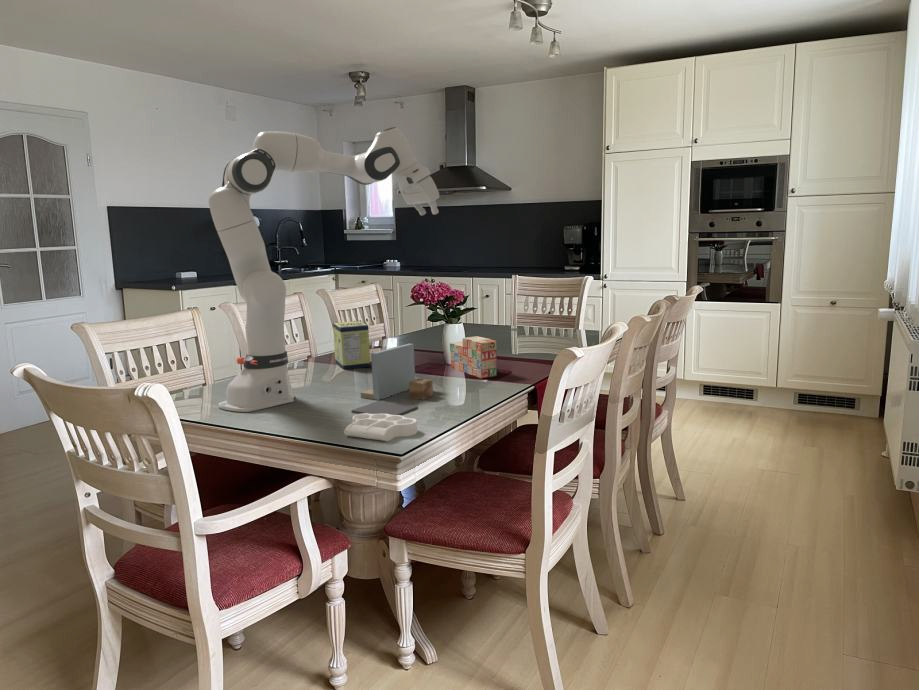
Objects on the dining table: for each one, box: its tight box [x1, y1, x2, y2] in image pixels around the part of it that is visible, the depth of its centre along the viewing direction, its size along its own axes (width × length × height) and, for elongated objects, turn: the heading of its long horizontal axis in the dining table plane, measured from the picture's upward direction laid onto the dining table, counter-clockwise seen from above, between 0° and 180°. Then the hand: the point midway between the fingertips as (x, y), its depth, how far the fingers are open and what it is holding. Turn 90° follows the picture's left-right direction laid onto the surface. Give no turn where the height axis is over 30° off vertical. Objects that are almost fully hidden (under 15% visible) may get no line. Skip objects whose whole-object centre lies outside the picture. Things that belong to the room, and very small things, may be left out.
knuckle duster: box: [343, 413, 418, 442], centre depth 168 cm, size 3×18×15 cm
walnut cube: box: [408, 377, 434, 400], centre depth 201 cm, size 5×5×5 cm
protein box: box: [332, 320, 371, 370], centre depth 252 cm, size 10×16×16 cm
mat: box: [351, 400, 419, 416], centre depth 187 cm, size 12×14×1 cm
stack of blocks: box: [449, 335, 498, 379], centre depth 233 cm, size 21×6×12 cm, turn 30°
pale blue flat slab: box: [360, 343, 416, 401], centre depth 207 cm, size 18×7×14 cm, turn 147°
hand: (429, 214), depth 221 cm, fingers open, 8 cm apart
